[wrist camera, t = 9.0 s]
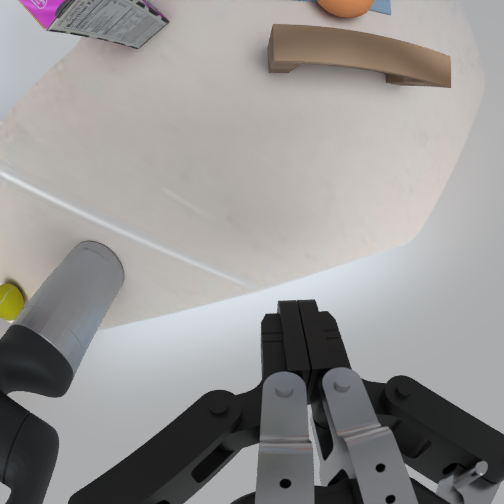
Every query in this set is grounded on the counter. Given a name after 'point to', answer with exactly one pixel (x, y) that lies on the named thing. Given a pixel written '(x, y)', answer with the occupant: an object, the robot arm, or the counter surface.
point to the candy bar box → (99, 19)
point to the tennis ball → (10, 302)
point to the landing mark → (375, 6)
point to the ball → (346, 7)
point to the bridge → (357, 54)
